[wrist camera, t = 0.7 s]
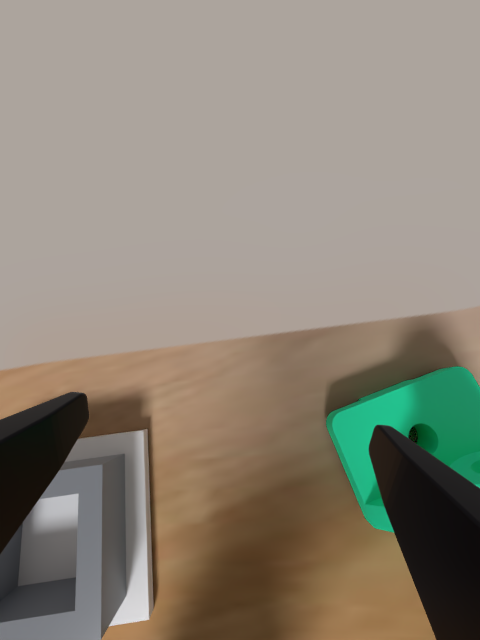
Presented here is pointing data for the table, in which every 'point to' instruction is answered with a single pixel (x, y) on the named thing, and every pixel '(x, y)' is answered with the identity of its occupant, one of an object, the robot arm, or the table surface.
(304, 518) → the table surface
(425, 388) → the camera mount
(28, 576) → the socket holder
